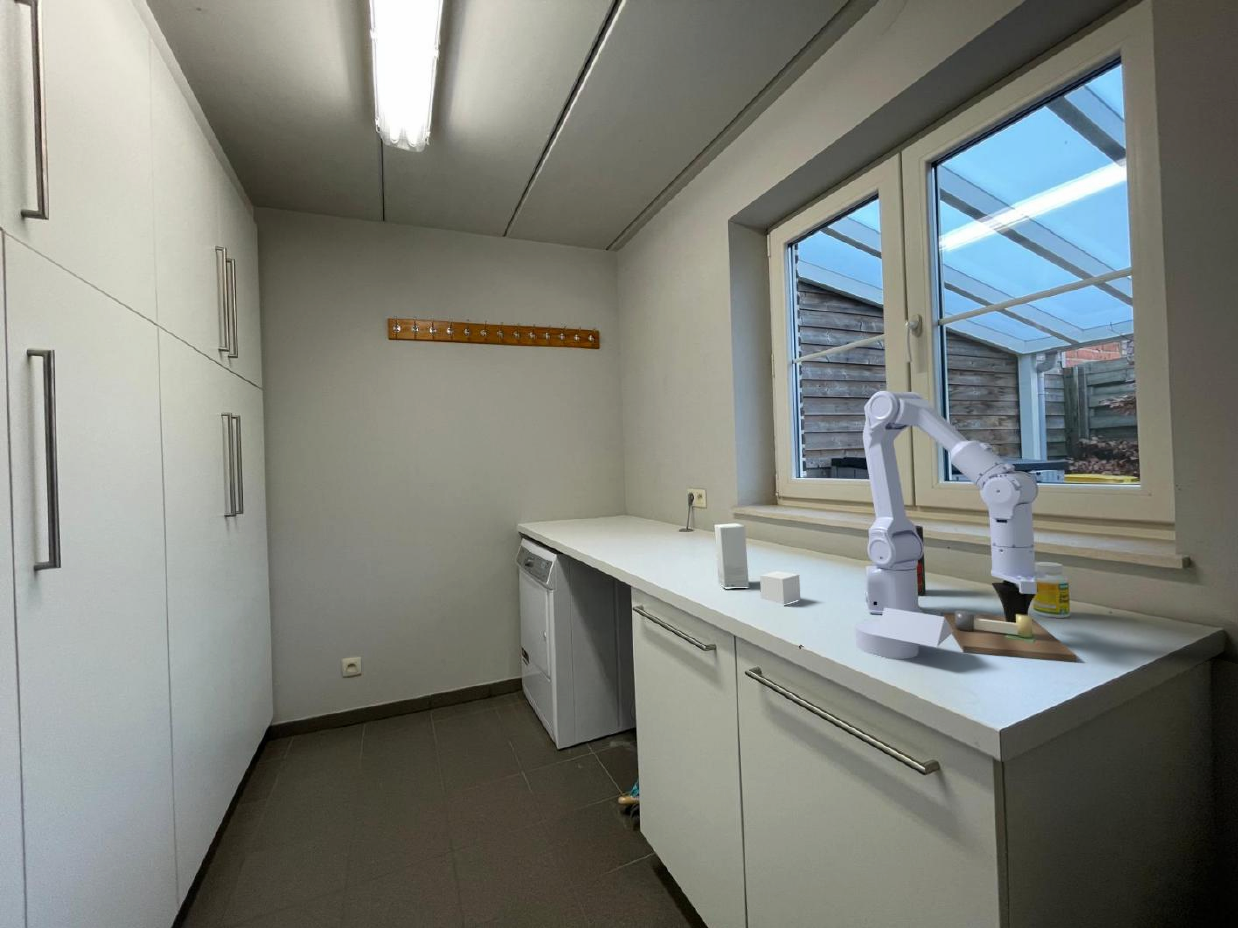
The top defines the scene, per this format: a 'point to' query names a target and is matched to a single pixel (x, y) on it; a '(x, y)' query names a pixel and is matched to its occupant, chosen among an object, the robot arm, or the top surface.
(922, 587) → the deodorant
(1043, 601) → the supplement bottle
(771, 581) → the white cube
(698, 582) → the top surface
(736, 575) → the skincare box
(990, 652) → the dial board
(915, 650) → the wedge on round base
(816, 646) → the top surface
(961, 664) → the top surface
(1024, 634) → the yellow capsule-ended device
